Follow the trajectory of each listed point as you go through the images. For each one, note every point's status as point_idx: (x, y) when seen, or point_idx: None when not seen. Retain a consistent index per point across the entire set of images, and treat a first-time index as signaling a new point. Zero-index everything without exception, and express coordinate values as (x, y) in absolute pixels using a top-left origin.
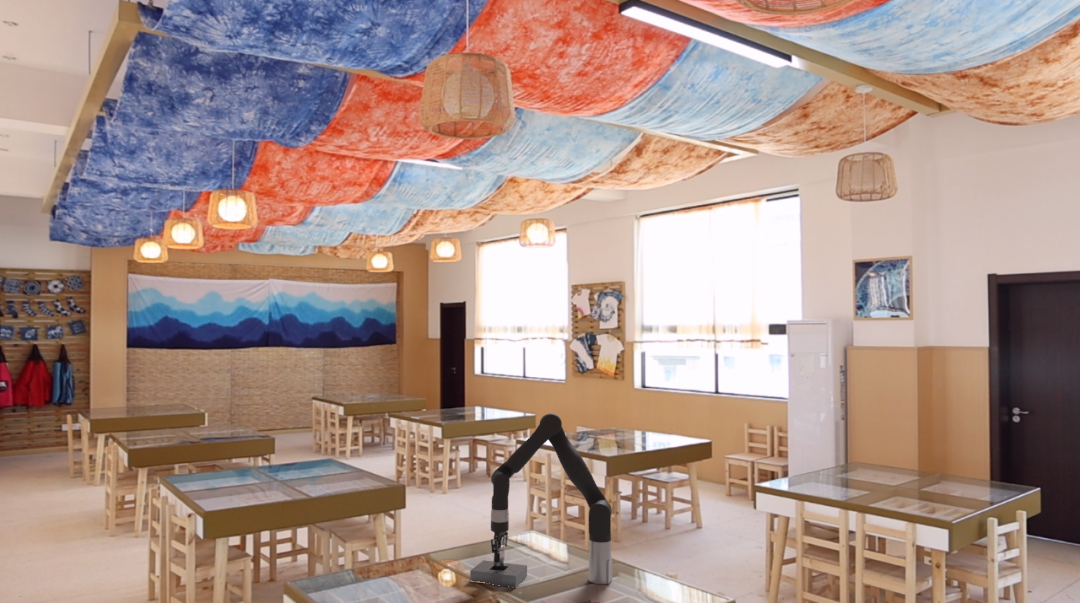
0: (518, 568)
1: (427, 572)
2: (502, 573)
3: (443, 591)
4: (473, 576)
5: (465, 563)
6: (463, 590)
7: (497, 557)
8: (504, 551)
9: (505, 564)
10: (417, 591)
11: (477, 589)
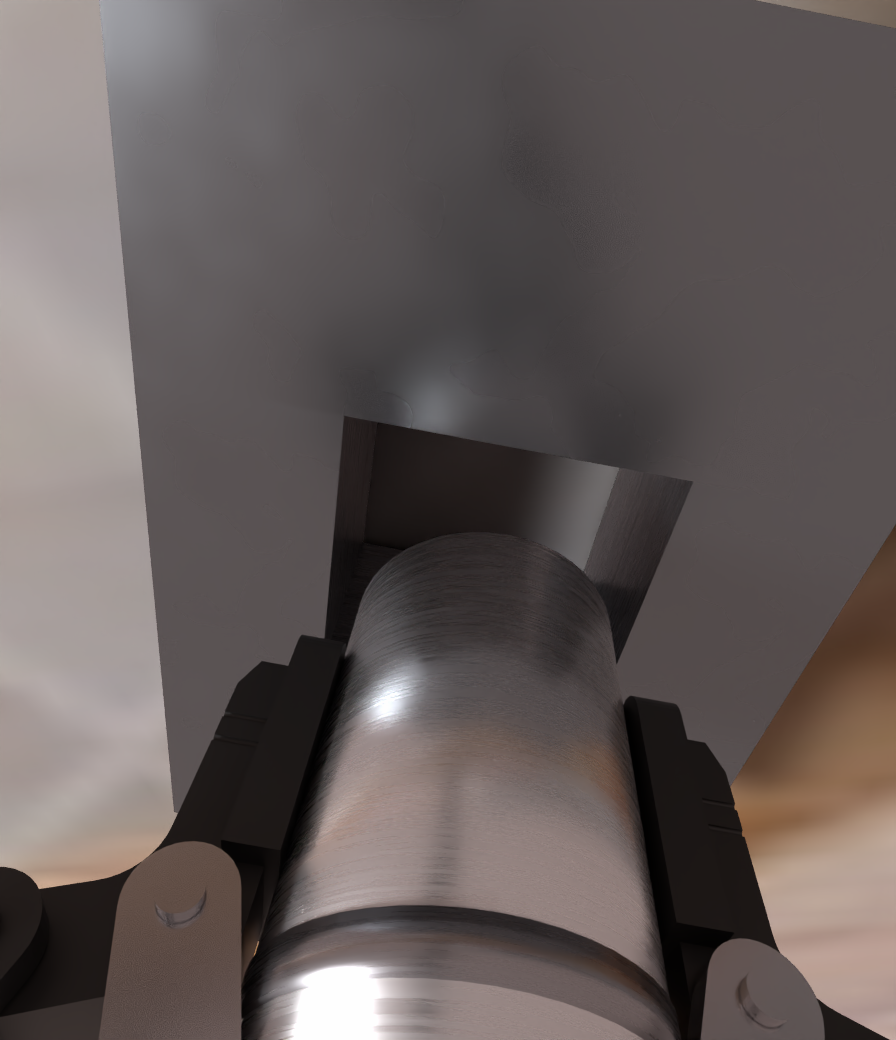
0: (448, 132)
1: None
2: (861, 480)
3: (891, 903)
4: None
5: (46, 833)
6: (890, 778)
7: (741, 849)
8: (507, 844)
9: (242, 502)
10: (859, 1022)
11: (877, 663)
